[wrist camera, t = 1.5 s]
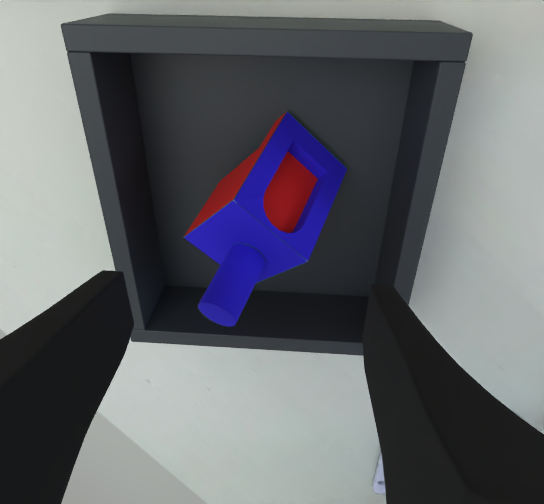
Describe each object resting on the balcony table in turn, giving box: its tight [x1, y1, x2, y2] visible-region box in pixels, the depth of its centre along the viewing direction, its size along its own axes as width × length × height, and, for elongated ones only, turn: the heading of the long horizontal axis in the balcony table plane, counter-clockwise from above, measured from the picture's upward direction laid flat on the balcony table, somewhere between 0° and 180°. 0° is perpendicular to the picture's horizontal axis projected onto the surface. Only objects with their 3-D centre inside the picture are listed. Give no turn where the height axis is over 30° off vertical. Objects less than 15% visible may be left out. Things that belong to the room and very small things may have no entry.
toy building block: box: [183, 111, 347, 327], centre depth 18 cm, size 4×4×8 cm
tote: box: [61, 14, 473, 355], centre depth 19 cm, size 14×13×4 cm
